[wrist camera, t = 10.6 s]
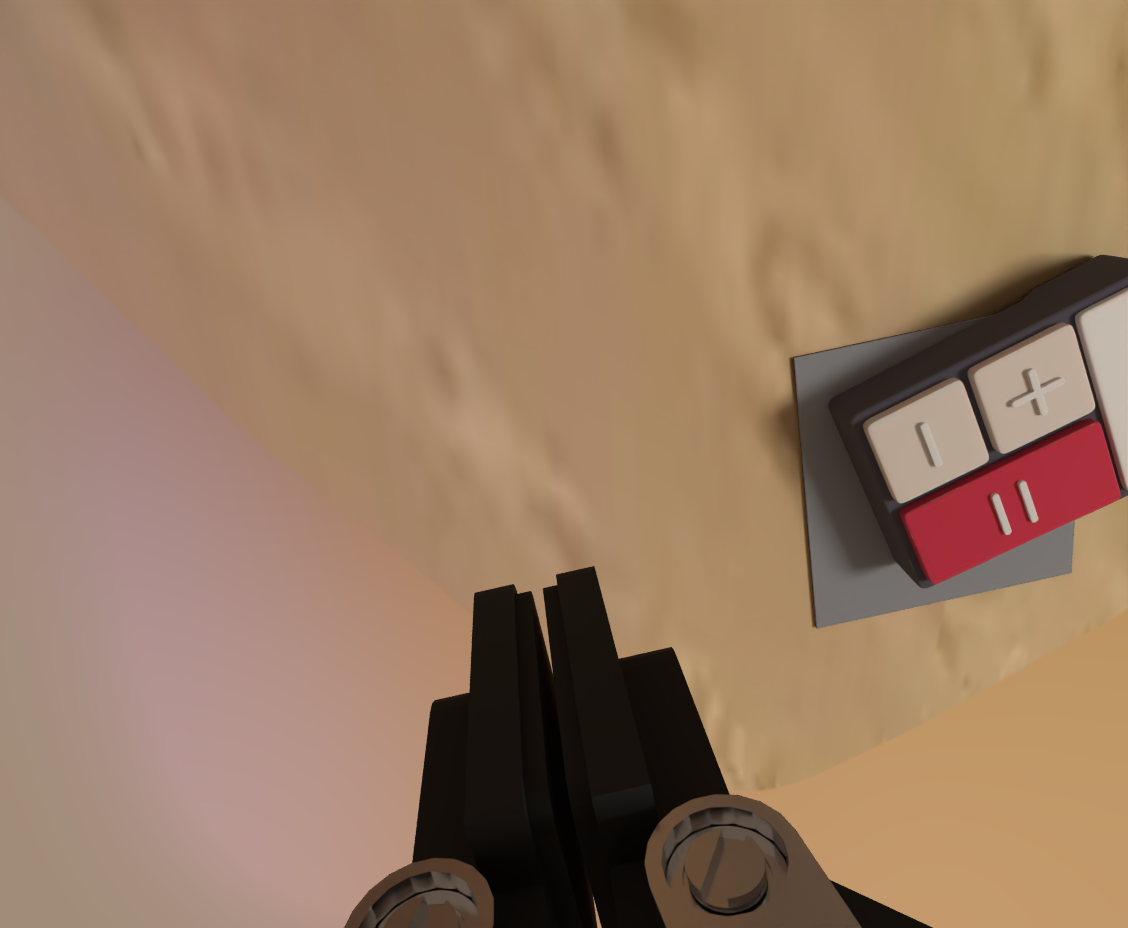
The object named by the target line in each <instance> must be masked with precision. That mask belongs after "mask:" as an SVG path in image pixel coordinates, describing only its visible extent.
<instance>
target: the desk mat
mask: <svg viewBox="0 0 1128 928" xmlns="http://www.w3.org/2000/svg"><path fill="white" fill-rule="evenodd" d="M991 316H993V315H991ZM991 316H986V317H981V318H976V319H972V320H967V321H962V322H958V323H953V324H948V325H944V326H939V327H934V328H930V329H925V330H920V331H915V332H911V333H906V334H901V335H897V336H892V337H887V338H883V339H878V340H873V341H869V342H864V343H859V344H855V345H850V346H845V347H840V348H836V349H831V350H826V351H822V352H817V353H812V354H808V355H803V356H798V357H794V358H793V359H794V371H795V383H796V395H797V407H798V419H799V431H800V443H801V454H802V466H803V478H804V490H805V502H806V514H807V526H808V538H809V549H810V561H811V573H812V585H813V597H814V609H815V621H816V628H822V627H826V626H831V625H835V624H840V623H845V622H849V621H854V620H858V619H863V618H868V617H872V616H877V615H881V614H886V613H890V612H895V611H900V610H904V609H909V608H913V607H918V606H922V605H927V604H932V603H936V602H941V601H945V600H950V599H954V598H959V597H964V596H968V595H973V594H977V593H982V592H986V591H991V590H996V589H1000V588H1005V587H1009V586H1014V585H1018V584H1023V583H1028V582H1032V581H1037V580H1041V579H1046V578H1050V577H1055V576H1060V575H1064V574H1069V573H1072V556H1073V539H1074V522H1075V520H1074V521H1072V522H1070V523H1068V524H1066V525H1064V526H1061V527H1059V528H1057V529H1055V530H1053V531H1051V532H1048V533H1046V534H1044V535H1042V536H1040V537H1038V538H1036V539H1033V540H1031V541H1029V542H1027V543H1025V544H1023V545H1020V546H1018V547H1016V548H1014V549H1012V550H1010V551H1008V552H1005V553H1003V554H1001V555H999V556H997V557H995V558H992V559H990V560H988V561H986V562H984V563H982V564H980V565H977V566H975V567H973V568H971V569H969V570H967V571H964V572H962V573H960V574H958V575H956V576H954V577H952V578H949V579H947V580H945V581H943V582H941V583H938V584H936V585H934V586H931V587H929V588H925V589H924V588H920V587H919V586H918V585H917V584H916V583H915V582H914V581H913V580H912V579H911V578H910V577H909V576H908V575H907V574H906V572H905V571H904V570H903V569H902V568H901V567H900V566H899V565H898V564H897V563H896V561H895V560H894V558H893V556H892V554H891V551H890V549H889V547H888V544H887V542H886V540H885V538H884V535H883V533H882V531H881V528H880V526H879V524H878V521H877V519H876V517H875V514H874V512H873V510H872V508H871V505H870V503H869V501H868V498H867V496H866V494H865V491H864V489H863V487H862V485H861V482H860V480H859V478H858V475H857V473H856V471H855V468H854V466H853V464H852V462H851V459H850V457H849V455H848V452H847V450H846V448H845V445H844V443H843V441H842V438H841V436H840V434H839V432H838V429H837V427H836V425H835V422H834V420H833V418H832V415H831V413H830V411H829V407H828V405H829V402H830V400H831V399H832V398H834V397H835V396H837V395H839V394H841V393H843V392H845V391H847V390H849V389H851V388H853V387H855V386H857V385H858V384H860V383H862V382H864V381H866V380H868V379H870V378H872V377H874V376H876V375H878V374H880V373H882V372H884V371H886V370H888V369H890V368H892V367H894V366H896V365H897V364H899V363H901V362H903V361H905V360H907V359H909V358H911V357H913V356H915V355H917V354H919V353H921V352H923V351H925V350H927V349H929V348H931V347H933V346H934V345H936V344H938V343H940V342H942V341H944V340H946V339H948V338H950V337H952V336H954V335H956V334H958V333H960V332H962V331H964V330H966V329H968V328H970V327H972V326H973V325H975V324H977V323H979V322H981V321H983V320H985V319H987V318H989V317H991Z"/></svg>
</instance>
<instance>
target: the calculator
mask: <svg viewBox="0 0 1128 928" xmlns="http://www.w3.org/2000/svg"><path fill="white" fill-rule="evenodd" d="M828 407H829V411H830V413H831V415H832V418H833V420H834V422H835V425H836V427H837V429H838V432H839V434H840V436H841V438H842V441H843V443H844V445H845V448H846V450H847V452H848V455H849V457H850V459H851V462H852V464H853V466H854V468H855V471H856V473H857V475H858V478H859V480H860V482H861V485H862V487H863V489H864V491H865V494H866V496H867V498H868V501H869V503H870V505H871V508H872V510H873V512H874V514H875V517H876V519H877V521H878V524H879V526H880V528H881V531H882V533H883V535H884V538H885V540H886V542H887V544H888V547H889V549H890V551H891V554H892V556H893V558H894V560H895V561H896V563H897V564H898V565H899V566H900V567H901V568H902V569H903V570H904V571H905V572H906V574H907V575H908V576H909V577H910V578H911V579H912V580H913V581H914V582H915V583H916V584H917V585H918V586H919V587H920V588H924V589H925V588H929V587H931V586H934V585H936V584H938V583H941V582H943V581H945V580H947V579H949V578H952V577H954V576H956V575H958V574H960V573H962V572H964V571H967V570H969V569H971V568H973V567H975V566H977V565H980V564H982V563H984V562H986V561H988V560H990V559H992V558H995V557H997V556H999V555H1001V554H1003V553H1005V552H1008V551H1010V550H1012V549H1014V548H1016V547H1018V546H1020V545H1023V544H1025V543H1027V542H1029V541H1031V540H1033V539H1036V538H1038V537H1040V536H1042V535H1044V534H1046V533H1048V532H1051V531H1053V530H1055V529H1057V528H1059V527H1061V526H1064V525H1066V524H1068V523H1070V522H1072V521H1074V520H1076V519H1079V518H1081V517H1083V516H1085V515H1087V514H1089V513H1092V512H1094V511H1096V510H1098V509H1100V508H1102V507H1104V506H1107V505H1109V504H1111V503H1113V502H1115V501H1117V500H1119V499H1121V498H1123V497H1125V496H1128V258H1122V257H1116V256H1109V255H1099V256H1097V257H1094V258H1092V259H1091V260H1089V261H1087V262H1085V263H1083V264H1081V265H1079V266H1077V267H1075V268H1073V269H1071V270H1069V271H1067V272H1065V273H1063V274H1061V275H1059V276H1058V277H1056V278H1054V279H1052V280H1050V281H1048V282H1046V283H1044V284H1042V285H1040V286H1038V287H1036V288H1034V289H1033V290H1032V291H1031V292H1030V293H1029V294H1028V295H1027V296H1026V297H1025V298H1024V299H1023V300H1022V301H1020V302H1018V303H1016V304H1014V305H1012V306H1011V307H1009V308H1007V309H1005V310H1003V311H1001V312H999V313H997V314H995V315H993V316H991V317H989V318H987V319H985V320H983V321H981V322H979V323H977V324H975V325H973V326H972V327H970V328H968V329H966V330H964V331H962V332H960V333H958V334H956V335H954V336H952V337H950V338H948V339H946V340H944V341H942V342H940V343H938V344H936V345H934V346H933V347H931V348H929V349H927V350H925V351H923V352H921V353H919V354H917V355H915V356H913V357H911V358H909V359H907V360H905V361H903V362H901V363H899V364H897V365H896V366H894V367H892V368H890V369H888V370H886V371H884V372H882V373H880V374H878V375H876V376H874V377H872V378H870V379H868V380H866V381H864V382H862V383H860V384H858V385H857V386H855V387H853V388H851V389H849V390H847V391H845V392H843V393H841V394H839V395H837V396H835V397H834V398H832V399H831V400H830V402H829V405H828Z"/></svg>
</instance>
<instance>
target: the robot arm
mask: <svg viewBox="0 0 1128 928" xmlns="http://www.w3.org/2000/svg"><path fill="white" fill-rule="evenodd" d="M556 578H557V585H555V586H551V587H547V588H543V594H544V602H545V610H546V618H547V627H548V635H549V643H550V652H551V660H552V668H553V673H552V669H551V665H550V661H549V657H548V654H547V650H546V646H545V642H544V638H543V634H542V630H541V626H540V622H539V618H538V614H537V610H536V606H535V602H534V598H533V595H532V592H531V591H529V592H524V593H520V594H517V591H516V588H515V586H514V584H512V585H508V586H503V587H499V588H494V589H490V590H485V591H481V592H476V593H475V594H474V608H473V630H472V651H471V674H470V693H466V694H461V695H457V696H452V697H447V698H443V699H439V700H435V701H434V702H433V703H432V706H431V711H430V718H429V726H428V735H427V744H426V751H425V760H424V769H423V777H422V785H421V794H420V803H419V811H418V819H417V828H416V836H415V844H414V853H413V861H412V863H411V864H409V865H407V866H405V867H403V868H401V869H399V870H397V871H395V872H393V873H391V874H389V875H388V876H387V877H385V878H384V879H383V880H382V881H380V882H379V883H378V884H377V885H375V886H374V887H373V888H372V889H370V890H369V891H368V893H367V894H366V895H365V896H364V897H363V899H362V900H361V901H360V902H359V904H358V905H357V906H356V907H355V909H354V910H353V911H352V913H351V915H350V917H349V919H348V921H347V923H346V925H345V927H344V928H597V922H596V914H595V907H594V900H595V904H596V908H597V912H598V916H599V919H600V923H601V926H602V928H932V927H930V926H928V925H926V924H924V923H922V922H919V921H917V920H915V919H913V918H911V917H909V916H906V915H904V914H902V913H900V912H898V911H896V910H893V909H891V908H889V907H887V906H885V905H883V904H881V903H878V902H876V901H874V900H872V899H870V898H868V897H865V896H863V895H861V894H859V893H857V892H855V891H853V890H851V889H848V888H846V887H844V886H842V885H840V884H838V883H835V882H833V881H831V880H829V879H828V877H827V875H826V874H825V872H824V871H823V870H822V868H821V867H820V865H819V864H818V862H817V861H816V859H815V858H814V856H813V855H812V853H811V852H810V850H809V849H808V847H807V846H806V844H805V843H804V841H803V840H802V838H801V837H800V835H799V834H798V832H797V831H796V830H795V829H794V828H793V827H792V825H791V824H790V823H789V822H788V821H787V820H786V819H785V818H784V817H783V816H782V815H781V814H780V813H779V812H777V811H776V810H774V809H772V808H771V807H769V806H767V805H766V804H764V803H762V802H761V801H757V800H753V799H750V798H747V797H743V796H740V795H730V794H729V792H728V789H727V787H726V784H725V781H724V779H723V776H722V774H721V771H720V768H719V766H718V763H717V761H716V758H715V755H714V753H713V750H712V748H711V745H710V742H709V740H708V737H707V734H706V732H705V729H704V727H703V724H702V721H701V719H700V716H699V714H698V711H697V708H696V706H695V703H694V701H693V698H692V695H691V693H690V690H689V688H688V685H687V682H686V680H685V677H684V674H683V672H682V669H681V667H680V664H679V661H678V659H677V656H676V654H675V652H674V649H673V648H672V647H670V648H665V649H661V650H656V651H652V652H647V653H643V654H638V655H634V656H630V657H625V658H621V659H618V655H617V651H616V648H615V644H614V640H613V636H612V632H611V628H610V624H609V621H608V617H607V613H606V609H605V605H604V601H603V598H602V594H601V590H600V586H599V582H598V578H597V575H596V571H595V567H594V566H592V567H588V568H584V569H579V570H575V571H570V572H566V573H561V574H557V575H556ZM553 676H554V677H553ZM593 897H594V900H593Z"/></svg>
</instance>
